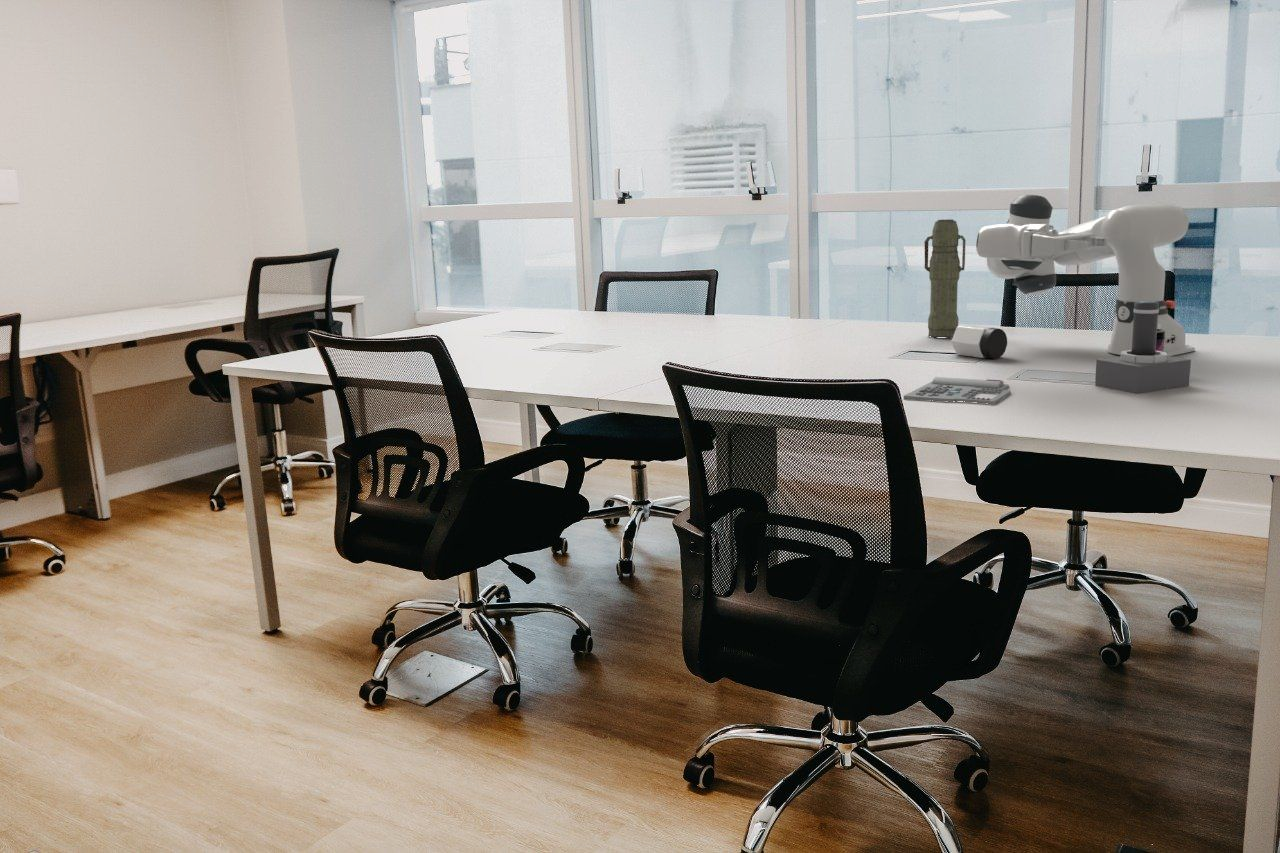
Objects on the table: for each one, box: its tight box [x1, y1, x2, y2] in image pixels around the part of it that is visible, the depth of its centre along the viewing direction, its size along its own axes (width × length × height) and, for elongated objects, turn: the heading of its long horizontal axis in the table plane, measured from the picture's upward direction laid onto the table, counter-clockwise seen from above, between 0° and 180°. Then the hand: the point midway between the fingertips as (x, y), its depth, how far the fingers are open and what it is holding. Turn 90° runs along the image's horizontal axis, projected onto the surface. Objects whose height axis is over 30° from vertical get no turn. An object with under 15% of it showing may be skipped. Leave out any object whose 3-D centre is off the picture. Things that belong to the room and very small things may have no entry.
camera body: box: [1094, 350, 1192, 394], centre depth 250 cm, size 16×12×8 cm
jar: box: [950, 324, 1008, 360], centre depth 296 cm, size 9×8×12 cm
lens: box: [1131, 301, 1159, 356], centre depth 248 cm, size 5×5×13 cm
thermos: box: [924, 219, 967, 338], centre depth 331 cm, size 9×12×35 cm
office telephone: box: [903, 376, 1012, 405], centre depth 251 cm, size 23×3×20 cm
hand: (1097, 243), depth 253 cm, fingers open, 8 cm apart
